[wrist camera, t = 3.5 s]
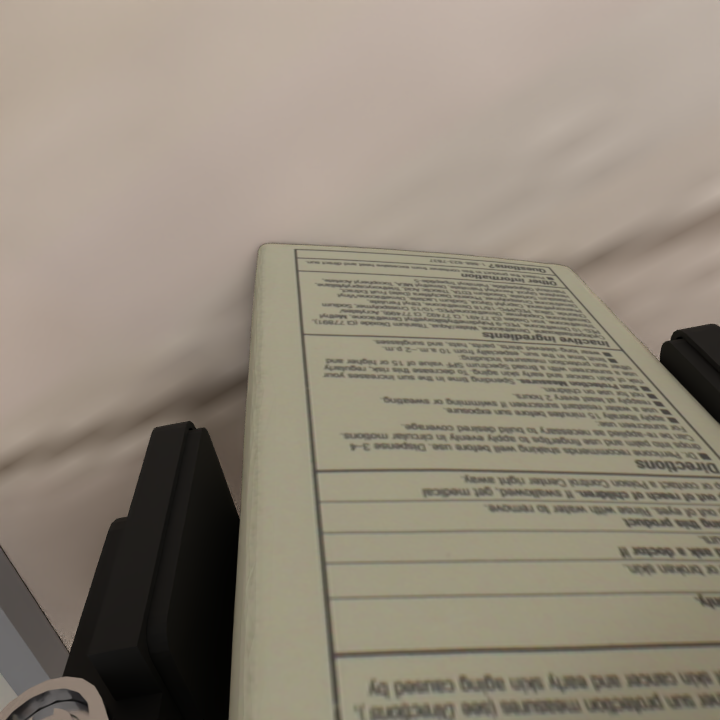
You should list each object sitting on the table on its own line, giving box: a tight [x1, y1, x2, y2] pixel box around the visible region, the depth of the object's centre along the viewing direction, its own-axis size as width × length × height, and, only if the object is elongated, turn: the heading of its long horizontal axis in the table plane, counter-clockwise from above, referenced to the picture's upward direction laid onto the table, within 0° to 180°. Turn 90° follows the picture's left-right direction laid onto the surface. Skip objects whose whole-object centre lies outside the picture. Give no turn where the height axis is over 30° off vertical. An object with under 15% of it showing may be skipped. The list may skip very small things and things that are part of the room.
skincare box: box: [229, 244, 720, 720], centre depth 8 cm, size 6×4×12 cm
